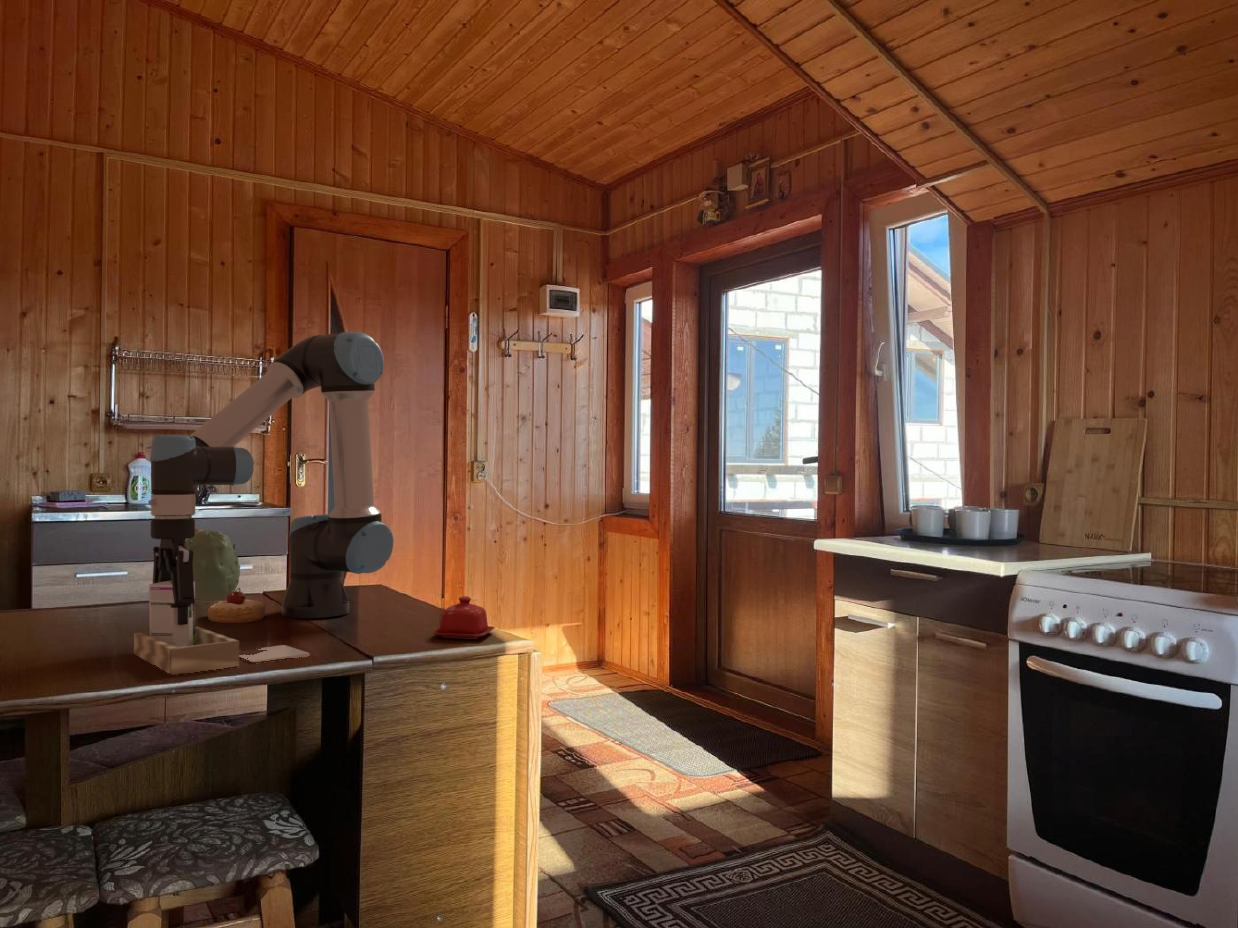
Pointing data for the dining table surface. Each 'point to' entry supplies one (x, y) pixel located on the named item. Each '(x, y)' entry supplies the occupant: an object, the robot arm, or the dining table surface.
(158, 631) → the syrup box
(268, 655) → the coaster
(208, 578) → the green lumpy fruit
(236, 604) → the pastry
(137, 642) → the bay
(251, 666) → the dining table surface
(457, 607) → the butter dish
